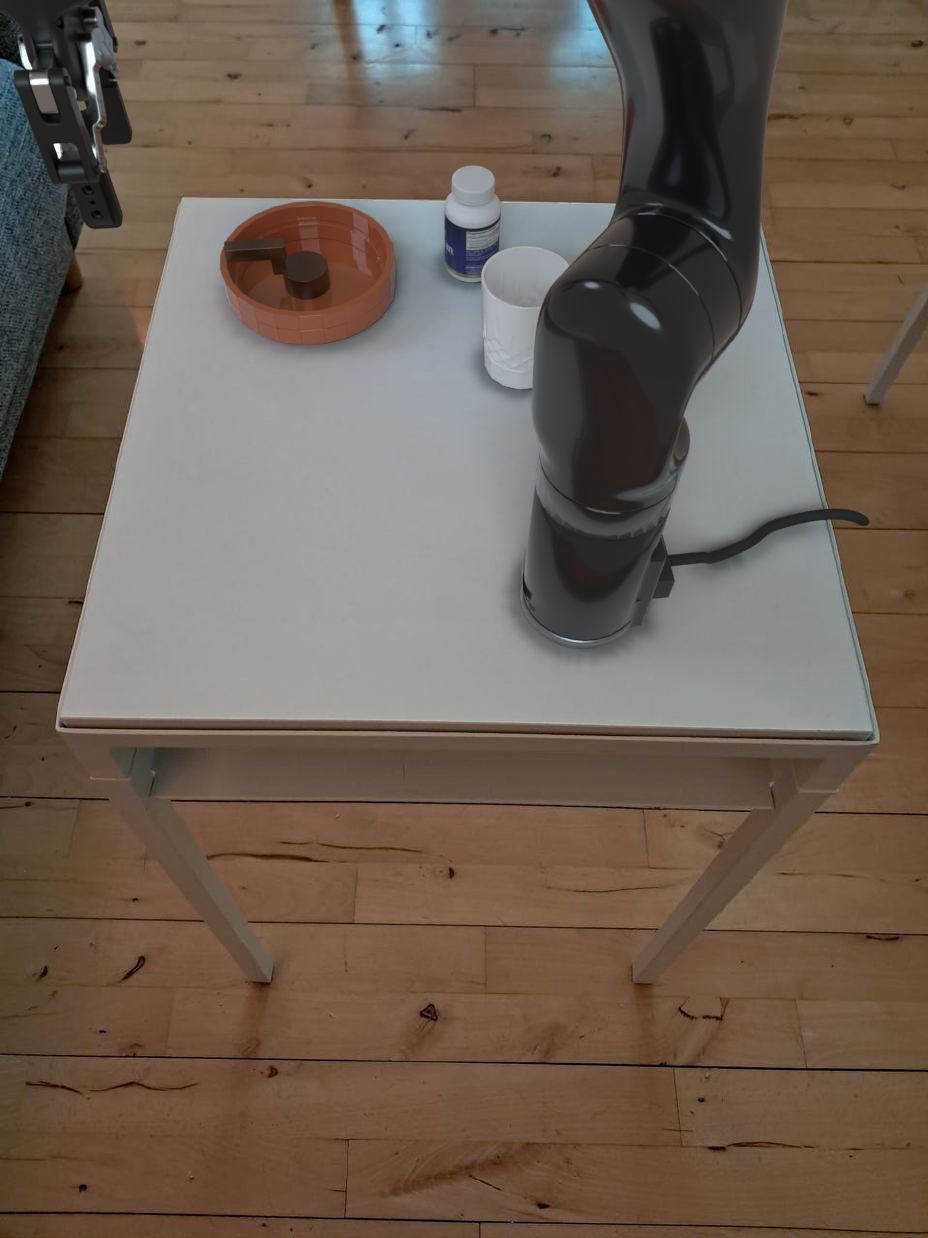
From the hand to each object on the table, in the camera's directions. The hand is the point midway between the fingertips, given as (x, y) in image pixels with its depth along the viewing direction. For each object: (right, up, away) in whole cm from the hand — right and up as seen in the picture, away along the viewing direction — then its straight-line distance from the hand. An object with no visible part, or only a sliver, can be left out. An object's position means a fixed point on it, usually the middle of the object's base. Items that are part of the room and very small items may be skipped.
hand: (111, 181), depth 59 cm
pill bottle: (+23, +8, +36) cm, 43 cm away
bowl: (+7, +5, +33) cm, 34 cm away
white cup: (+28, -4, +29) cm, 40 cm away
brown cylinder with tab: (+4, +5, +33) cm, 33 cm away
